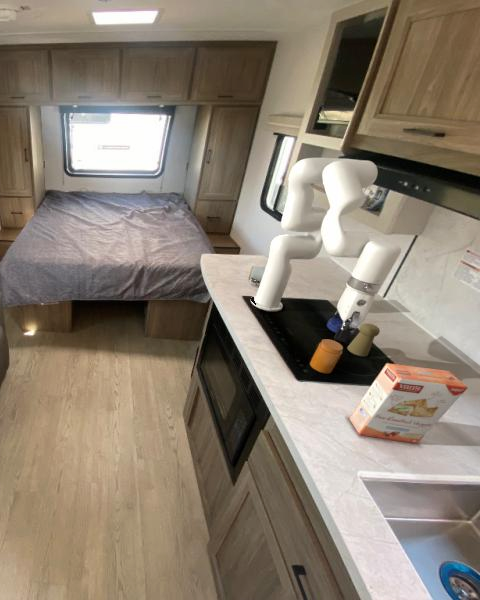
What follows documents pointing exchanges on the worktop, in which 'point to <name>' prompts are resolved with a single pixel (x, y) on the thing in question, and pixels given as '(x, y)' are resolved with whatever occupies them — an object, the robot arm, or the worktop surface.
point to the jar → (326, 356)
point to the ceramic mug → (256, 274)
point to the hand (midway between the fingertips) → (337, 333)
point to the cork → (363, 340)
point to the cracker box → (406, 402)
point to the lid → (336, 324)
